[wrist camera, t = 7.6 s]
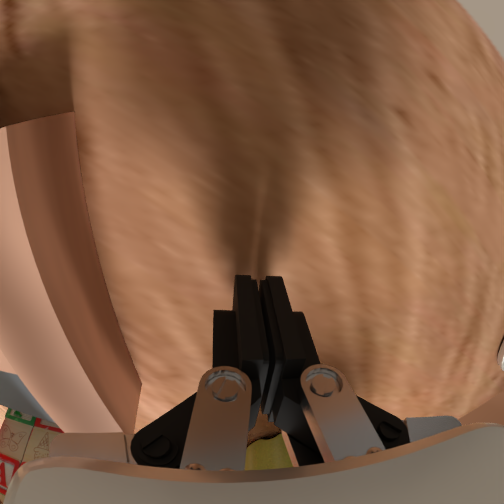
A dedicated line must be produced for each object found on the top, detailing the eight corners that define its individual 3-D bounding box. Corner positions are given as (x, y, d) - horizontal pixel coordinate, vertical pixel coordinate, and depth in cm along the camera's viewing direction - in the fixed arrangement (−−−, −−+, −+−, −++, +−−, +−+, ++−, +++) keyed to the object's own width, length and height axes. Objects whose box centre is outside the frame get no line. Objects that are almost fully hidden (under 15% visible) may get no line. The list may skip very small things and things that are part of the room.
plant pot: (309, 463, 23) (326, 537, 16) (213, 463, 21) (218, 548, 14) (361, 416, 19) (393, 511, 12) (242, 416, 17) (256, 540, 10)
